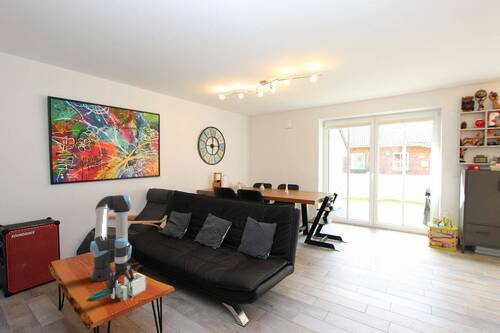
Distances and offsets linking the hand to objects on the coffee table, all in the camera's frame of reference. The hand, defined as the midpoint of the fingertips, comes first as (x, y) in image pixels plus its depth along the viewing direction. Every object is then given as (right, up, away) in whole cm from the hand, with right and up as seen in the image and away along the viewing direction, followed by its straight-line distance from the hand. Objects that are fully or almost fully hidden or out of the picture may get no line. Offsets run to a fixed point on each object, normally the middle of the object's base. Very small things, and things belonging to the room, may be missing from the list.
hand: (121, 294), depth 165 cm
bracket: (-13, -3, +4) cm, 14 cm away
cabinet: (+6, -2, +9) cm, 10 cm away
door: (0, -2, 0) cm, 2 cm away
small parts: (-1, -2, +1) cm, 3 cm away
